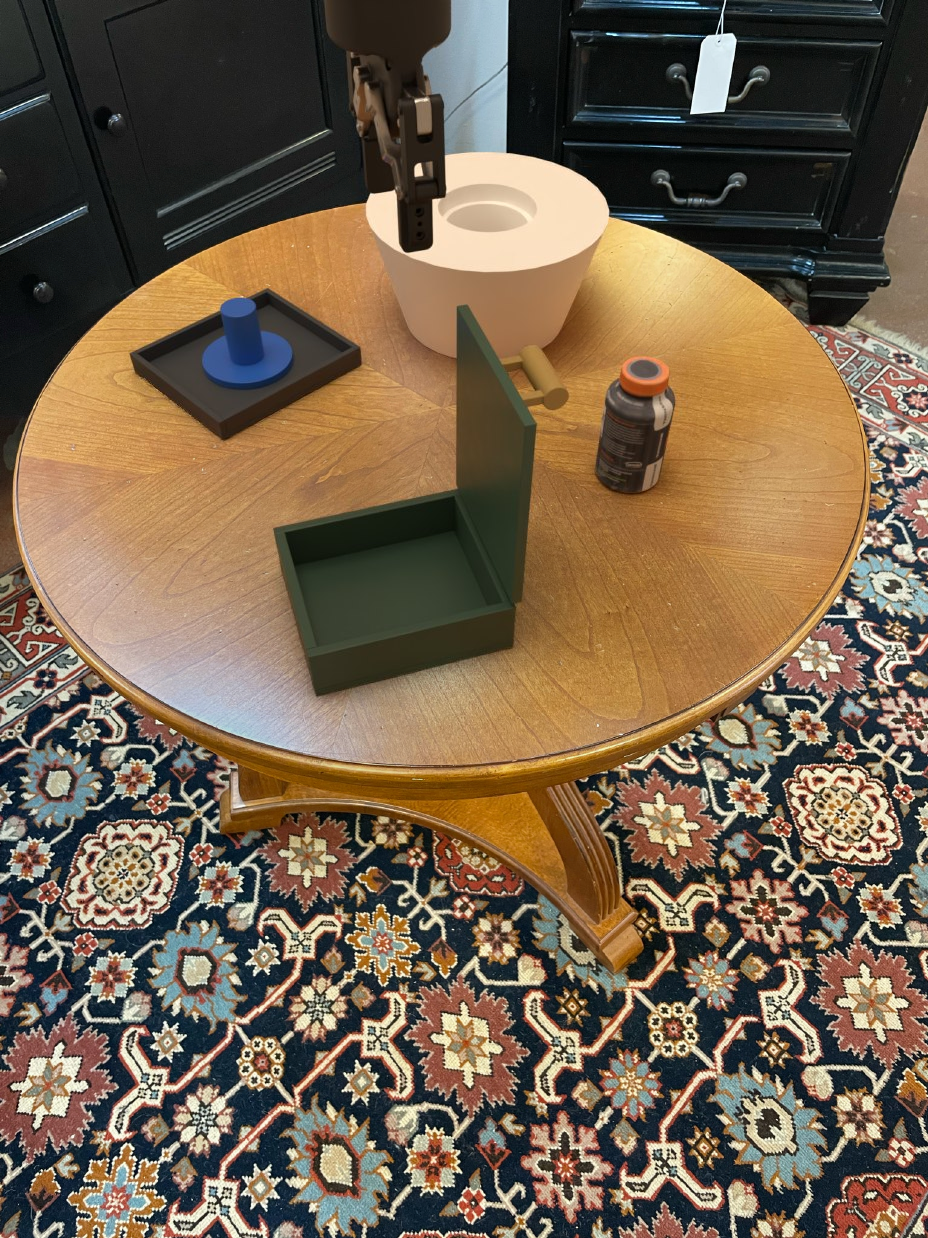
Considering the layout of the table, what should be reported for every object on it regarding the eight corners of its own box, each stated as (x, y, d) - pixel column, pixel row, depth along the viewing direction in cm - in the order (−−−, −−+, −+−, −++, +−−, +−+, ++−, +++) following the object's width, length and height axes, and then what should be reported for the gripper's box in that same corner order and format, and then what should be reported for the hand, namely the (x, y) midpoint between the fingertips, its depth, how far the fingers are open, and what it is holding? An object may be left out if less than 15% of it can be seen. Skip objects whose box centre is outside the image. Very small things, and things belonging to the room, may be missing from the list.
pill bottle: (671, 485, 86) (696, 381, 77) (613, 502, 85) (631, 397, 76) (639, 445, 90) (659, 341, 81) (583, 460, 88) (597, 356, 80)
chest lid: (524, 426, 57) (598, 411, 58) (456, 305, 66) (522, 294, 67) (511, 604, 70) (572, 589, 71) (455, 484, 78) (511, 472, 79)
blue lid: (238, 401, 92) (227, 345, 88) (185, 361, 96) (171, 306, 92) (311, 362, 97) (304, 307, 92) (257, 326, 101) (247, 271, 96)
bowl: (515, 237, 114) (520, 133, 105) (640, 336, 101) (659, 228, 92) (334, 293, 106) (323, 186, 97) (446, 410, 93) (445, 299, 84)
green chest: (315, 696, 71) (308, 657, 67) (280, 568, 79) (272, 527, 75) (513, 647, 74) (516, 607, 70) (460, 528, 82) (460, 487, 79)
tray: (223, 440, 90) (219, 422, 88) (134, 370, 96) (128, 352, 95) (362, 364, 97) (360, 346, 96) (270, 304, 104) (267, 287, 103)
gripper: (293, -86, 58) (322, 180, 70) (353, -7, 49) (373, 280, 62) (411, -96, 59) (419, 166, 72) (489, -22, 51) (483, 260, 63)
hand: (398, 218), depth 67 cm, fingers open, 8 cm apart
